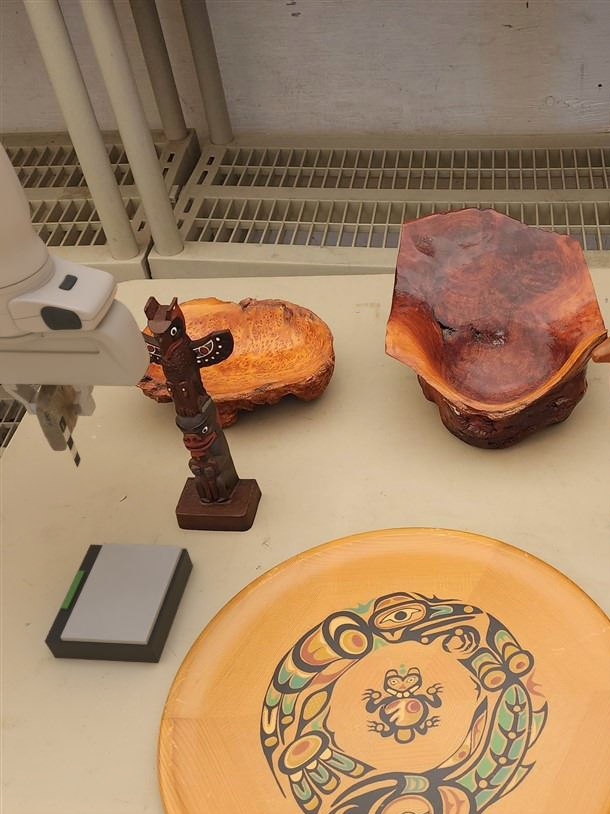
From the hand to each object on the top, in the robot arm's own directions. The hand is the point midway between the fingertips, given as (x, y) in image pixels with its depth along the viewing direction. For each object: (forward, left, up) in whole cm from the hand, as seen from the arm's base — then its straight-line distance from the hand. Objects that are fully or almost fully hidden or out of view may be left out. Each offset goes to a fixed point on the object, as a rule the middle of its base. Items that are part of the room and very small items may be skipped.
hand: (63, 411), depth 87 cm
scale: (+4, -10, -20) cm, 22 cm away
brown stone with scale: (0, 0, -2) cm, 2 cm away
